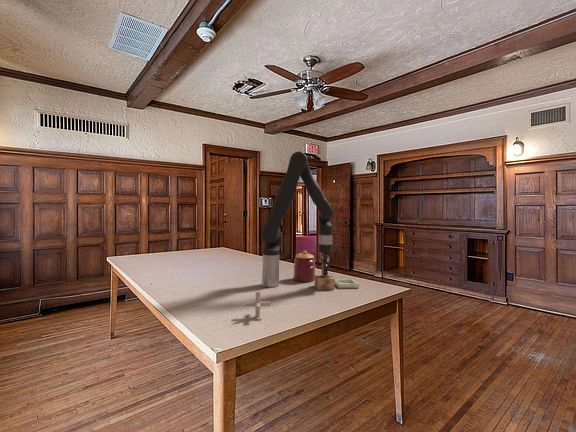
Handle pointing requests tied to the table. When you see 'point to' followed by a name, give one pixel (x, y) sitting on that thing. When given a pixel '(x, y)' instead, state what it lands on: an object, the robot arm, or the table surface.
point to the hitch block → (324, 282)
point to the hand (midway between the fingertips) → (324, 274)
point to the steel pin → (322, 272)
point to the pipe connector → (257, 304)
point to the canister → (304, 267)
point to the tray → (346, 283)
